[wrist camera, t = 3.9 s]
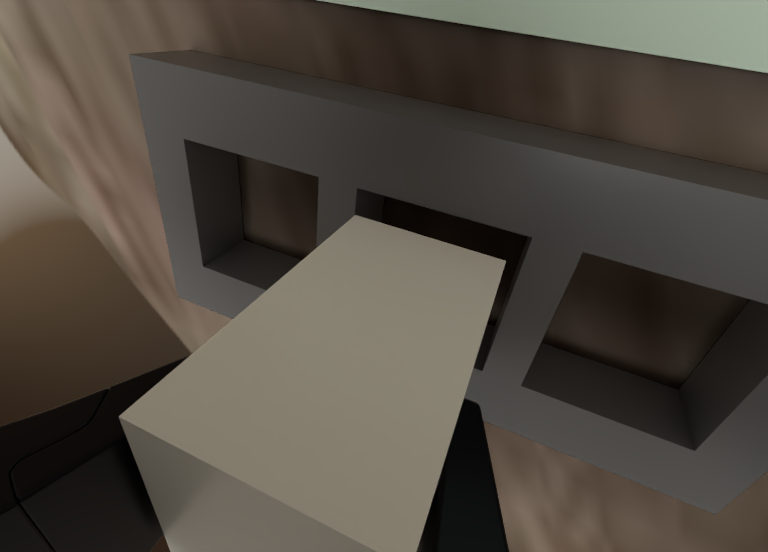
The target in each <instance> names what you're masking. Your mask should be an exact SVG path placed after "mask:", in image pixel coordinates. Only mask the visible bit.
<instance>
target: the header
mask: <svg viewBox="0 0 768 552" xmlns="http://www.w3.org/2000/svg"><path fill="white" fill-rule="evenodd" d="M129 56H130V61H131V66H132V71H133V76H134V81H135V86H136V91H137V96H138V101H139V106H140V111H141V116H142V120H143V125H144V130H145V135H146V140H147V145H148V150H149V155H150V160H151V165H152V170H153V175H154V180H155V185H156V190H157V194H158V199H159V204H160V209H161V214H162V219H163V224H164V229H165V234H166V239H167V244H168V249H169V254H170V259H171V263H172V268H173V273H174V278H175V283H176V288H177V293H178V297H180V298H182V299H185V300H187V301H190V302H192V303H195V304H197V305H200V306H202V307H205V308H207V309H210V310H212V311H215V312H217V313H219V314H222V315H224V316H227V317H229V318H232V319H234V318H235V317H236V316H237V315H238V314H240V313H241V312H242V311H243V310H244V309H245V308H247V307H248V306H249V305H250V304H251V303H252V302H254V301H255V300H256V299H257V298H258V297H260V296H261V295H262V294H263V293H264V292H265V291H267V290H268V289H269V288H270V287H271V286H272V285H274V284H275V283H276V282H277V281H278V280H280V279H281V278H282V277H283V276H284V275H285V274H287V273H288V272H289V271H290V270H291V269H292V268H294V267H295V266H296V265H297V264H298V263H299V262H301V261H302V260H300V259H297V258H294V257H292V256H289V255H286V254H283V253H280V252H277V251H274V250H271V249H268V248H265V247H263V246H260V245H257V244H254V243H251V242H248V241H245V240H244V234H243V221H242V209H241V196H240V184H239V171H238V159H237V154H239V155H243V156H246V157H250V158H253V159H257V160H260V161H264V162H267V163H271V164H274V165H278V166H281V167H285V168H288V169H292V170H296V171H299V172H303V173H306V174H310V175H313V176H317V177H319V183H318V212H317V241H316V248H317V247H318V246H319V245H321V244H322V243H323V242H324V241H325V240H326V239H328V238H329V237H330V236H331V235H332V234H334V233H335V232H336V231H337V230H338V229H339V228H341V227H342V226H343V225H344V224H345V223H346V222H348V221H349V220H350V219H351V218H352V217H353V216H355V215H357V216H361V217H364V218H367V219H370V220H374V221H377V222H380V223H381V220H382V213H383V205H384V198H385V196H387V197H391V198H394V199H398V200H401V201H405V202H408V203H412V204H415V205H419V206H423V207H426V208H430V209H433V210H437V211H440V212H444V213H447V214H451V215H454V216H458V217H461V218H465V219H468V220H472V221H475V222H479V223H483V224H486V225H490V226H493V227H497V228H500V229H504V230H507V231H511V232H514V233H518V234H521V235H525V236H528V238H527V241H526V243H525V246H524V249H523V252H522V254H521V257H520V260H519V262H518V265H517V268H516V271H515V273H514V276H513V279H512V281H511V284H510V287H509V290H508V292H507V295H506V298H505V300H504V303H503V306H502V309H501V311H500V314H499V317H498V319H497V322H496V325H495V326H492V325H489V324H487V325H486V328H485V331H484V335H483V338H482V341H481V344H480V348H479V351H478V354H477V357H476V361H475V364H474V367H473V370H472V374H471V377H470V380H469V383H468V386H467V390H466V393H465V396H464V398H466V399H469V400H471V401H474V402H476V403H478V404H479V405H480V408H481V413H482V418H483V421H486V422H488V423H491V424H493V425H496V426H498V427H501V428H503V429H506V430H508V431H510V432H513V433H515V434H518V435H520V436H523V437H525V438H528V439H530V440H533V441H535V442H538V443H540V444H543V445H545V446H547V447H550V448H552V449H555V450H557V451H560V452H562V453H565V454H567V455H570V456H572V457H575V458H577V459H580V460H582V461H584V462H587V463H589V464H592V465H594V466H597V467H599V468H602V469H604V470H607V471H609V472H612V473H614V474H617V475H619V476H621V477H624V478H626V479H629V480H631V481H634V482H636V483H639V484H641V485H644V486H646V487H649V488H651V489H653V490H656V491H658V492H661V493H663V494H666V495H668V496H671V497H673V498H676V499H678V500H681V501H683V502H686V503H688V504H690V505H693V506H695V507H698V508H700V509H703V510H705V511H708V512H710V513H713V514H715V515H716V514H717V513H718V512H720V511H721V510H722V509H723V508H724V507H725V506H727V505H728V504H729V503H730V502H731V501H733V500H734V499H735V498H736V497H737V496H738V495H740V494H741V493H742V492H743V491H744V490H746V489H747V488H748V487H749V486H750V485H751V484H753V483H754V482H755V481H756V480H757V479H759V478H760V477H761V476H762V475H763V474H765V473H766V472H767V471H768V174H765V173H761V172H756V171H751V170H747V169H742V168H737V167H733V166H728V165H723V164H719V163H714V162H709V161H705V160H700V159H695V158H691V157H686V156H681V155H677V154H672V153H667V152H663V151H658V150H653V149H649V148H644V147H639V146H635V145H630V144H625V143H621V142H616V141H611V140H607V139H602V138H598V137H593V136H588V135H584V134H579V133H574V132H570V131H565V130H560V129H556V128H551V127H546V126H542V125H537V124H532V123H528V122H523V121H518V120H514V119H509V118H504V117H500V116H495V115H490V114H486V113H481V112H476V111H472V110H467V109H462V108H458V107H453V106H448V105H444V104H439V103H434V102H430V101H425V100H421V99H416V98H411V97H407V96H402V95H397V94H393V93H388V92H383V91H379V90H374V89H369V88H365V87H360V86H355V85H351V84H346V83H341V82H337V81H332V80H327V79H323V78H318V77H313V76H309V75H304V74H299V73H295V72H290V71H285V70H281V69H276V68H271V67H267V66H262V65H258V64H253V63H248V62H244V61H239V60H234V59H230V58H225V57H220V56H216V55H211V54H206V53H202V52H197V51H192V50H185V51H170V52H155V53H140V54H129ZM583 252H585V253H588V254H592V255H595V256H599V257H602V258H606V259H610V260H613V261H617V262H620V263H624V264H627V265H631V266H634V267H638V268H641V269H645V270H648V271H652V272H655V273H659V274H662V275H666V276H670V277H673V278H677V279H680V280H684V281H687V282H691V283H694V284H698V285H701V286H705V287H708V288H712V289H715V290H719V291H722V292H726V293H729V294H733V295H737V296H740V297H744V298H747V299H750V301H749V302H748V303H747V304H746V306H745V307H744V308H743V309H742V311H741V312H740V313H739V314H738V316H737V317H736V318H735V319H734V321H733V322H732V323H731V324H730V326H729V327H728V328H727V329H726V331H725V332H724V333H723V335H722V336H721V337H720V338H719V340H718V341H717V342H716V343H715V345H714V346H713V347H712V348H711V350H710V351H709V352H708V353H707V355H706V356H705V357H704V358H703V360H702V361H701V362H700V363H699V365H698V366H697V367H696V368H695V370H694V371H693V372H692V373H691V375H690V376H689V377H688V378H687V380H686V381H685V382H684V383H683V385H682V386H681V387H680V388H679V390H677V389H674V388H672V387H669V386H666V385H663V384H660V383H657V382H654V381H651V380H648V379H645V378H643V377H640V376H637V375H634V374H631V373H628V372H625V371H622V370H619V369H616V368H614V367H611V366H608V365H605V364H602V363H599V362H596V361H593V360H590V359H587V358H585V357H582V356H579V355H576V354H573V353H570V352H567V351H564V350H561V349H558V348H556V347H553V346H550V345H547V344H544V343H541V341H542V339H543V337H544V335H545V333H546V331H547V329H548V326H549V324H550V322H551V320H552V318H553V316H554V314H555V311H556V309H557V307H558V305H559V303H560V301H561V299H562V296H563V294H564V292H565V290H566V288H567V286H568V284H569V281H570V279H571V277H572V275H573V273H574V271H575V269H576V266H577V264H578V262H579V260H580V258H581V256H582V254H583Z"/></svg>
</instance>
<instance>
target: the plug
mask: <svg viewBox="0 0 768 552" xmlns="http://www.w3.org/2000/svg"><path fill="white" fill-rule="evenodd" d="M505 264H506V261H505V260H502V259H498V258H495V257H492V256H489V255H485V254H482V253H479V252H475V251H472V250H469V249H466V248H462V247H459V246H456V245H452V244H449V243H446V242H443V241H439V240H436V239H433V238H429V237H426V236H423V235H420V234H416V233H413V232H410V231H407V230H403V229H400V228H397V227H393V226H390V225H387V224H384V223H380V222H377V221H374V220H370V219H367V218H364V217H361V216H357V215H355V216H353V217H352V218H351V219H350V220H349V221H348V222H346V223H345V224H344V225H343V226H342V227H341V228H339V229H338V230H337V231H336V232H335V233H334V234H332V235H331V236H330V237H329V238H328V239H326V240H325V241H324V242H323V243H322V244H321V245H319V246H318V247H317V248H316V249H315V250H314V251H312V252H311V253H310V254H309V255H308V256H307V257H305V258H304V259H303V260H302V261H301V262H299V263H298V264H297V265H296V266H295V267H294V268H292V269H291V270H290V271H289V272H288V273H287V274H285V275H284V276H283V277H282V278H281V279H280V280H278V281H277V282H276V283H275V284H274V285H272V286H271V287H270V288H269V289H268V290H267V291H265V292H264V293H263V294H262V295H261V296H260V297H258V298H257V299H256V300H255V301H254V302H252V303H251V304H250V305H249V306H248V307H247V308H245V309H244V310H243V311H242V312H241V313H240V314H238V315H237V316H236V317H235V318H234V319H233V320H231V321H230V322H229V323H228V324H227V325H225V326H224V327H223V328H222V329H221V330H220V331H218V332H217V333H216V334H215V335H214V336H213V337H211V338H210V339H209V340H208V341H207V342H206V343H204V344H203V345H202V346H201V347H200V348H198V349H197V350H196V351H195V352H194V353H193V354H191V355H190V356H189V357H188V358H187V359H186V360H184V361H183V362H182V363H181V364H180V365H179V366H177V367H176V368H175V369H174V370H173V371H171V372H170V373H169V374H168V375H167V376H166V377H164V378H163V379H162V380H161V381H160V382H159V383H157V384H156V385H155V386H154V387H153V388H152V389H150V390H149V391H148V392H147V393H146V394H144V395H143V396H142V397H141V398H140V399H139V400H137V401H136V402H135V403H134V404H133V405H132V406H130V407H129V408H128V409H127V410H126V411H125V412H123V413H122V414H121V415H120V416H119V419H120V422H121V424H122V427H123V429H124V432H125V435H126V437H127V440H128V442H129V445H130V448H131V450H132V453H133V455H134V458H135V461H136V463H137V466H138V468H139V471H140V474H141V476H142V479H143V481H144V484H145V487H146V489H147V492H148V494H149V497H150V500H151V502H152V505H153V507H154V510H155V513H156V515H157V518H158V520H159V523H160V525H161V528H162V531H163V533H164V536H165V538H166V541H167V544H168V546H169V549H170V551H171V552H416V551H417V548H418V545H419V542H420V539H421V535H422V532H423V529H424V526H425V522H426V519H427V516H428V513H429V509H430V506H431V503H432V500H433V496H434V493H435V490H436V487H437V484H438V480H439V477H440V474H441V471H442V467H443V464H444V461H445V458H446V454H447V451H448V448H449V445H450V441H451V438H452V435H453V432H454V429H455V425H456V422H457V419H458V416H459V412H460V409H461V406H462V403H463V399H464V396H465V393H466V390H467V386H468V383H469V380H470V377H471V374H472V370H473V367H474V364H475V361H476V357H477V354H478V351H479V348H480V344H481V341H482V338H483V335H484V331H485V328H486V325H487V322H488V319H489V315H490V312H491V309H492V306H493V302H494V299H495V296H496V293H497V289H498V286H499V283H500V280H501V276H502V273H503V270H504V267H505Z"/></svg>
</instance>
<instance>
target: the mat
mask: <svg viewBox="0 0 768 552" xmlns="http://www.w3.org/2000/svg"><path fill="white" fill-rule="evenodd" d="M318 1H325V2H331V3H337V4H343V5H349V6H356V7H362V8H368V9H374V10H380V11H386V12H393V13H399V14H405V15H411V16H417V17H424V18H430V19H436V20H442V21H448V22H455V23H461V24H467V25H473V26H479V27H486V28H492V29H498V30H504V31H510V32H517V33H523V34H529V35H535V36H541V37H548V38H554V39H560V40H566V41H572V42H579V43H585V44H591V45H597V46H603V47H609V48H616V49H622V50H628V51H634V52H640V53H647V54H653V55H659V56H665V57H671V58H678V59H684V60H690V61H696V62H702V63H709V64H715V65H721V66H727V67H733V68H740V69H746V70H752V71H758V72H764V73H768V0H318Z"/></svg>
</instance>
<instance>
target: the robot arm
mask: <svg viewBox="0 0 768 552" xmlns="http://www.w3.org/2000/svg"><path fill="white" fill-rule="evenodd" d="M189 356H190V355H189ZM189 356H187V357H184V358H182V359H179V360H177V361H175V362H172V363H169V364H167V365H164V366H162V367H159V368H157V369H154V370H152V371H149V372H147V373H144V374H142V375H139V376H137V377H134V378H131V379H129V380H126V381H124V382H121V383H119V384H116V385H114V386H111V387H110V388H109V389H103V390H101V391H98V392H96V393H94V394H91V395H88V396H86V397H83V398H80V399H78V400H75V401H73V402H70V403H67V404H65V405H62V406H59V407H56V408H54V409H51V410H48V411H45V412H42V413H39V414H36V415H33V416H30V417H27V418H24V419H21V420H18V421H15V422H12V423H9V424H6V425H3V426H0V552H150V551H151V550H152V548H153V547H154V546H155V544H156V543H157V542H158V541H159V539H160V538H161V537H162V535H163V534H164V533H163V531H162V528H161V525H160V523H159V520H158V518H157V515H156V513H155V510H154V507H153V505H152V502H151V500H150V497H149V494H148V492H147V489H146V487H145V484H144V481H143V479H142V476H141V474H140V471H139V468H138V466H137V463H136V461H135V458H134V455H133V453H132V450H131V448H130V445H129V442H128V440H127V437H126V435H125V432H124V429H123V427H122V424H121V422H120V419H119V416H120V415H121V414H122V413H123V412H125V411H126V410H127V409H128V408H129V407H130V406H132V405H133V404H134V403H135V402H136V401H137V400H139V399H140V398H141V397H142V396H143V395H144V394H146V393H147V392H148V391H149V390H150V389H152V388H153V387H154V386H155V385H156V384H157V383H159V382H160V381H161V380H162V379H163V378H164V377H166V376H167V375H168V374H169V373H170V372H171V371H173V370H174V369H175V368H176V367H177V366H179V365H180V364H181V363H182V362H183V361H184V360H186V359H187V358H188V357H189ZM416 552H509V549H508V544H507V539H506V534H505V529H504V524H503V519H502V514H501V509H500V504H499V499H498V493H497V488H496V483H495V478H494V473H493V468H492V463H491V458H490V453H489V448H488V443H487V438H486V433H485V428H484V423H483V418H482V413H481V408H480V405H479V404H478V403H476V402H474V401H471V400H469V399H466V398H464V399H463V403H462V406H461V409H460V412H459V416H458V419H457V422H456V425H455V429H454V432H453V435H452V438H451V441H450V445H449V448H448V451H447V454H446V458H445V461H444V464H443V467H442V471H441V474H440V477H439V480H438V484H437V487H436V490H435V493H434V496H433V500H432V503H431V506H430V509H429V513H428V516H427V519H426V522H425V526H424V529H423V532H422V535H421V539H420V542H419V545H418V548H417V551H416Z"/></svg>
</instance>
